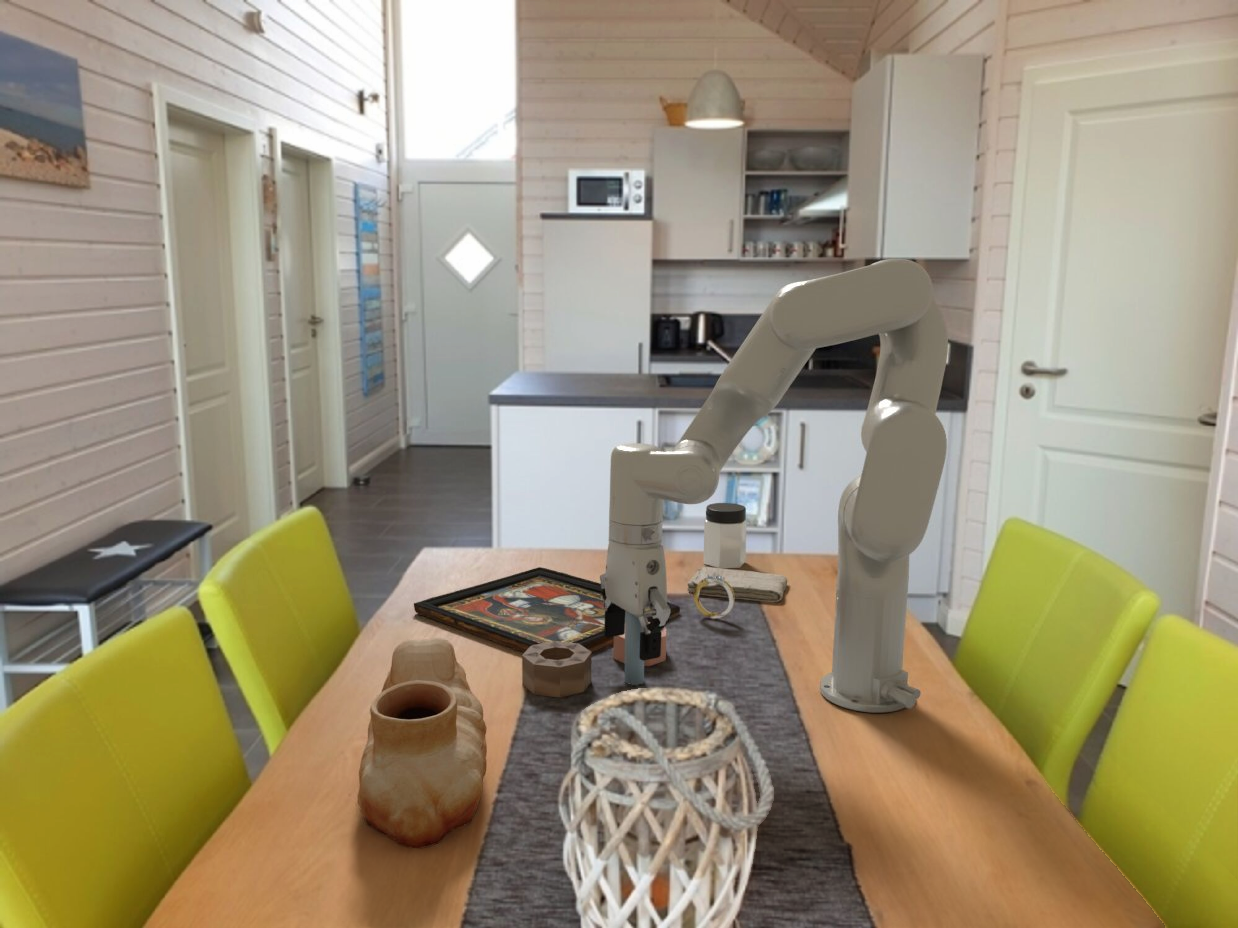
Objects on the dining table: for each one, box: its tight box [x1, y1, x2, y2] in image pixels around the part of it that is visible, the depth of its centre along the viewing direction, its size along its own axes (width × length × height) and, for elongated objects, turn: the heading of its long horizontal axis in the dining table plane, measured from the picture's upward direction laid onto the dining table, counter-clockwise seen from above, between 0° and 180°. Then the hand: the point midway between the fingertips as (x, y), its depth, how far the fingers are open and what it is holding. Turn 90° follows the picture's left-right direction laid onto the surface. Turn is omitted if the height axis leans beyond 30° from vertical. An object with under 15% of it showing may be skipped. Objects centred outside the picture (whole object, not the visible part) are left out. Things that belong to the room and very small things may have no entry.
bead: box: [521, 641, 592, 699], centre depth 137 cm, size 9×9×4 cm
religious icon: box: [413, 566, 681, 654], centre depth 166 cm, size 38×35×3 cm
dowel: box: [624, 609, 645, 686], centre depth 137 cm, size 3×3×12 cm
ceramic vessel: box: [357, 637, 488, 849], centre depth 107 cm, size 14×26×15 cm, turn 8°
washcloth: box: [687, 566, 789, 603], centre depth 181 cm, size 12×18×3 cm, turn 74°
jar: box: [703, 502, 748, 569], centre depth 197 cm, size 9×8×12 cm
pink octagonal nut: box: [612, 622, 667, 667], centre depth 148 cm, size 8×8×4 cm
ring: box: [693, 572, 736, 620], centre depth 164 cm, size 7×3×8 cm, turn 62°
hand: (631, 646), depth 137 cm, fingers open, 9 cm apart
